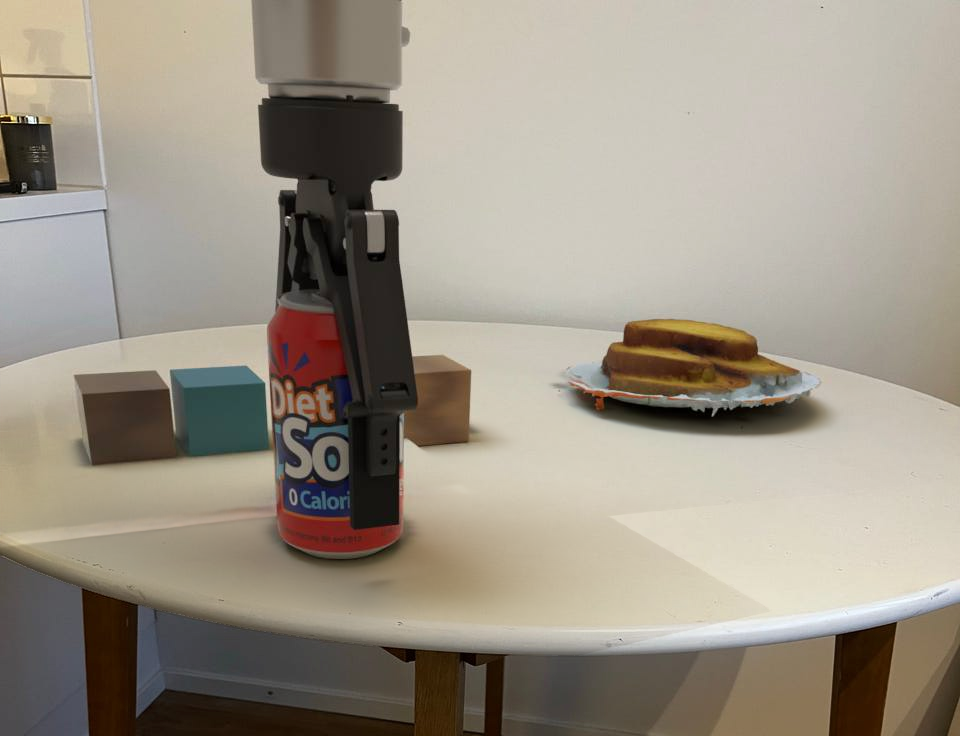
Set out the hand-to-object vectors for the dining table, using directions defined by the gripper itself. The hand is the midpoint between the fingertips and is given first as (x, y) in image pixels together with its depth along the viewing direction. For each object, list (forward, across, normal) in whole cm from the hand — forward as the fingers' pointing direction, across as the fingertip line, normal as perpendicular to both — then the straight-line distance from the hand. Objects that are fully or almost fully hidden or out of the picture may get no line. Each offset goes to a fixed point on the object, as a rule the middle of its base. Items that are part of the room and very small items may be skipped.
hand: (340, 490), depth 63 cm
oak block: (+3, +21, -14) cm, 25 cm away
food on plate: (+4, +25, -44) cm, 51 cm away
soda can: (+4, 0, 0) cm, 4 cm away
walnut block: (+3, +21, +10) cm, 24 cm away
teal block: (+3, +21, +3) cm, 21 cm away
